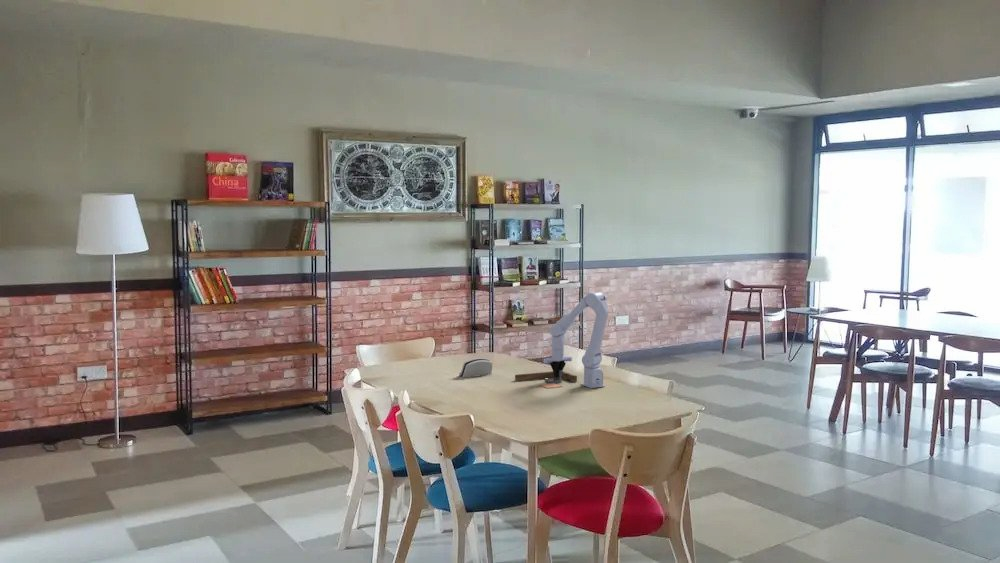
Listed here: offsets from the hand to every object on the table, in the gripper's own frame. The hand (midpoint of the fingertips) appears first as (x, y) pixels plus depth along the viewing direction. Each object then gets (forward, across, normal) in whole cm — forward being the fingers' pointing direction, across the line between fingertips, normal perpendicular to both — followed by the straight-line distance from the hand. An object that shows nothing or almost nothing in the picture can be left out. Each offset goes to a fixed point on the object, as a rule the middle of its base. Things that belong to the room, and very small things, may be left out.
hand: (557, 376), depth 396 cm
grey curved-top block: (+3, +30, -30) cm, 42 cm away
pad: (+2, +8, +8) cm, 12 cm away
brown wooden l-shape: (+2, +5, -3) cm, 6 cm away
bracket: (+2, +2, 0) cm, 3 cm away
